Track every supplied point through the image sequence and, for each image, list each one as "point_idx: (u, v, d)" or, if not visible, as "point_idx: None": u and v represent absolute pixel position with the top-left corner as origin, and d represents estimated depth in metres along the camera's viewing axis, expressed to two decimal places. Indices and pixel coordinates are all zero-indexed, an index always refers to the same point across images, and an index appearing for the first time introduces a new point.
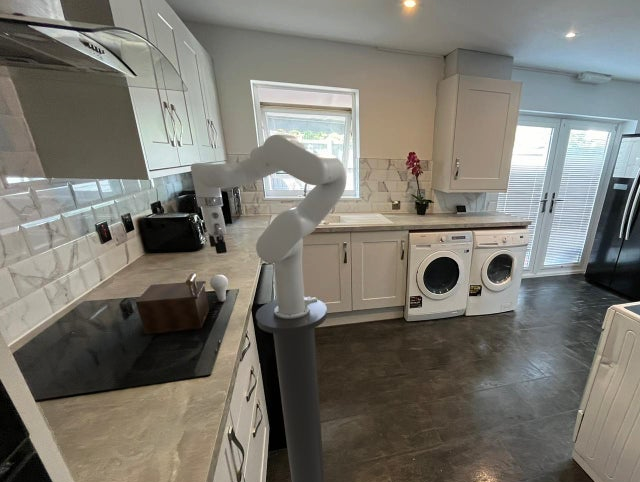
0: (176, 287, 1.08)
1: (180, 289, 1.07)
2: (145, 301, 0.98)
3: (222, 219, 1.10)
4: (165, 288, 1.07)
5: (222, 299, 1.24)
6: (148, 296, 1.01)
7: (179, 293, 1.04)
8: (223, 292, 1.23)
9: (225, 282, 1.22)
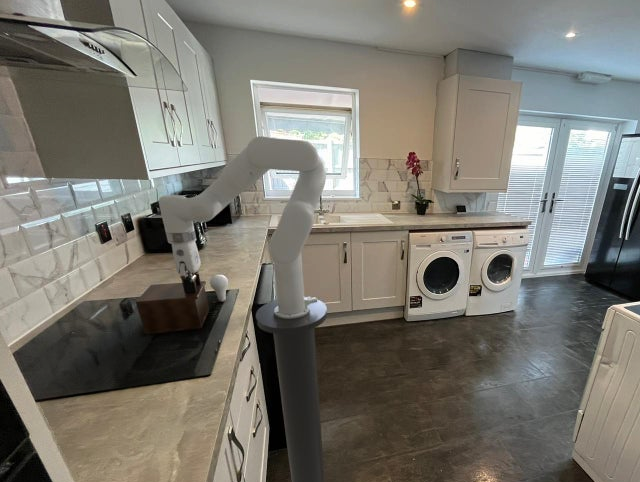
0: (176, 287, 1.08)
1: (180, 289, 1.07)
2: (145, 301, 0.98)
3: (188, 257, 0.99)
4: (165, 288, 1.07)
5: (222, 299, 1.24)
6: (148, 296, 1.01)
7: (179, 293, 1.04)
8: (223, 292, 1.23)
9: (225, 282, 1.22)
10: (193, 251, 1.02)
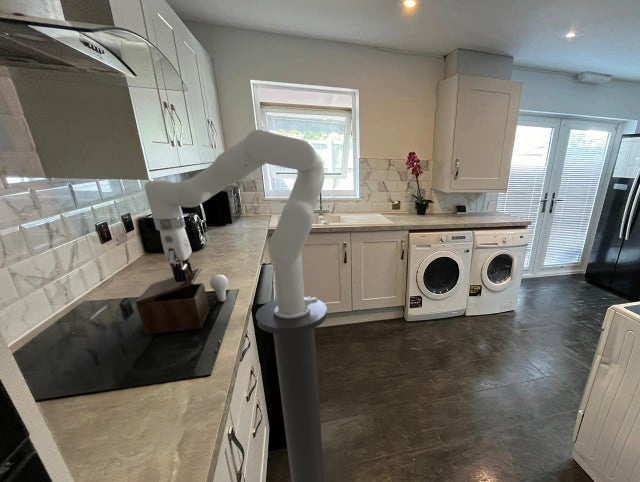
0: (173, 280, 1.07)
1: None
2: (144, 299, 0.98)
3: (177, 244, 0.97)
4: (163, 284, 1.06)
5: (222, 299, 1.24)
6: (147, 294, 1.01)
7: (175, 284, 1.03)
8: (223, 292, 1.23)
9: (225, 282, 1.22)
10: (182, 238, 1.00)
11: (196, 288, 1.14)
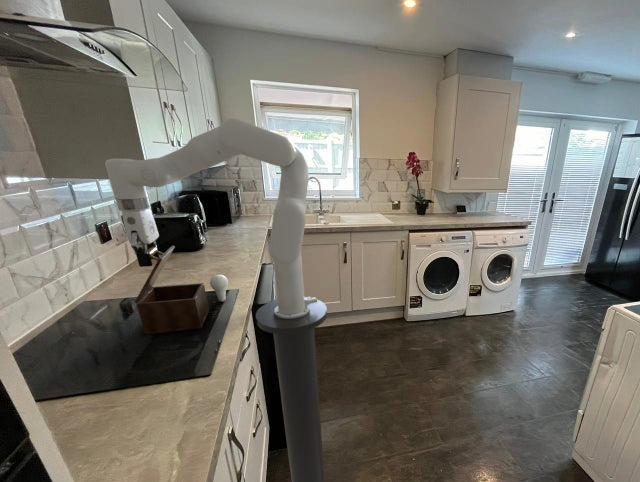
0: None
1: None
2: (138, 296, 0.97)
3: (141, 226, 0.92)
4: None
5: (222, 299, 1.24)
6: None
7: None
8: (223, 292, 1.23)
9: (225, 282, 1.22)
10: (147, 220, 0.95)
11: (196, 288, 1.14)
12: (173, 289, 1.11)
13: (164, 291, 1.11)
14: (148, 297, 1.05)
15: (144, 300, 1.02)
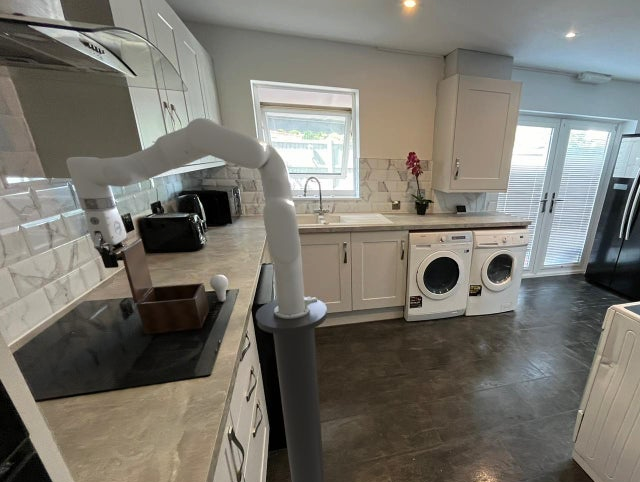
0: None
1: None
2: (133, 295, 0.97)
3: (105, 226, 0.90)
4: None
5: (222, 299, 1.24)
6: None
7: None
8: (223, 292, 1.23)
9: (225, 282, 1.22)
10: (112, 220, 0.92)
11: (196, 288, 1.14)
12: (173, 289, 1.11)
13: (164, 291, 1.11)
14: (148, 297, 1.05)
15: (144, 300, 1.02)
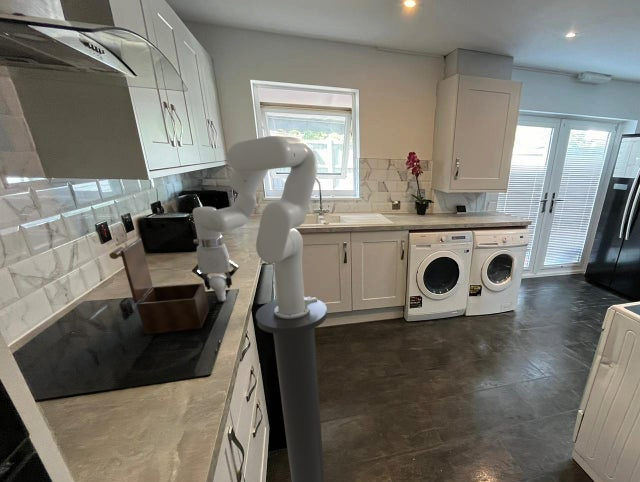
0: None
1: None
2: (133, 295, 0.97)
3: (197, 258, 1.15)
4: None
5: (222, 299, 1.24)
6: None
7: None
8: (223, 292, 1.23)
9: (224, 282, 1.21)
10: (206, 256, 1.15)
11: (196, 288, 1.14)
12: (173, 289, 1.11)
13: (164, 291, 1.11)
14: (148, 297, 1.05)
15: (144, 300, 1.02)
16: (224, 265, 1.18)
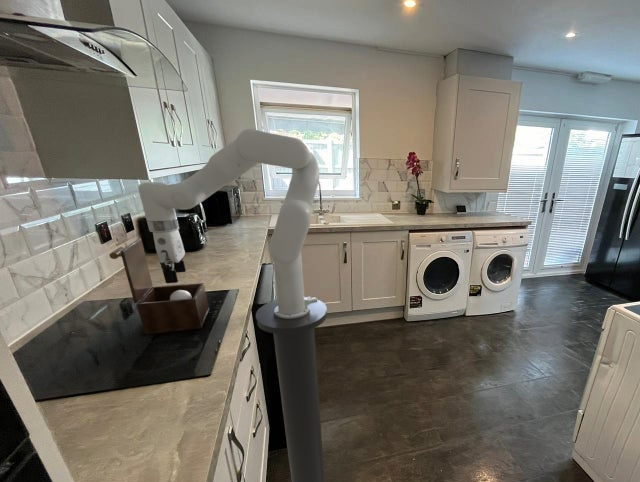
0: None
1: None
2: (133, 295, 0.97)
3: (170, 246, 0.97)
4: None
5: None
6: None
7: None
8: None
9: None
10: (176, 240, 0.99)
11: (196, 288, 1.14)
12: (173, 289, 1.11)
13: (164, 291, 1.11)
14: (148, 297, 1.05)
15: (144, 300, 1.02)
16: (182, 247, 1.05)
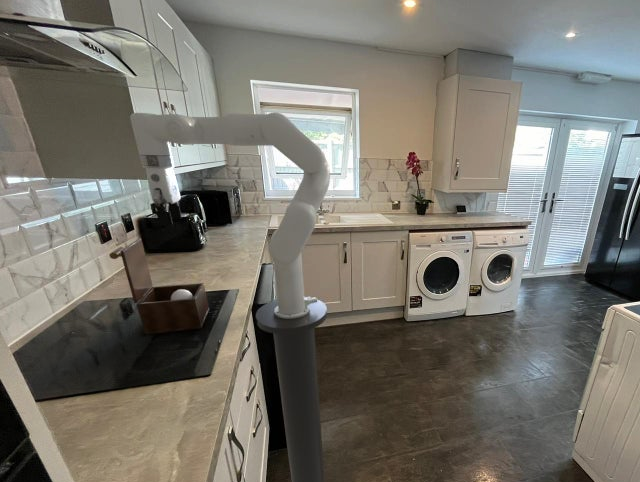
0: None
1: None
2: (133, 295, 0.97)
3: (165, 183, 0.90)
4: None
5: None
6: None
7: None
8: None
9: None
10: (170, 179, 0.93)
11: (196, 288, 1.14)
12: (173, 289, 1.11)
13: (164, 291, 1.11)
14: (148, 297, 1.05)
15: (144, 300, 1.02)
16: (178, 190, 0.99)
